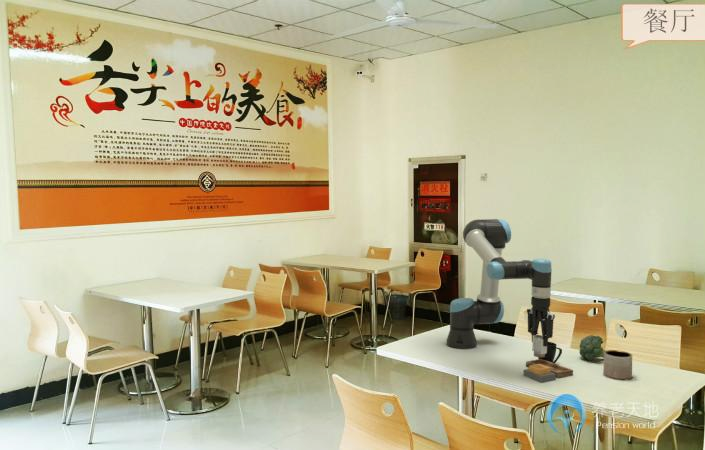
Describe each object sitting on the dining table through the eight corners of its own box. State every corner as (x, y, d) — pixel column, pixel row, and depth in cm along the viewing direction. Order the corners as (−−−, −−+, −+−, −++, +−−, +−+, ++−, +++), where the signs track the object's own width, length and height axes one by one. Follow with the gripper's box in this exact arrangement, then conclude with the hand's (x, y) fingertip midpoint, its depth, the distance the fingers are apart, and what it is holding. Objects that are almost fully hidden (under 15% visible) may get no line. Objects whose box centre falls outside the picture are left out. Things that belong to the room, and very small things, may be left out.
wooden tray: (525, 366, 244) (526, 361, 244) (541, 363, 248) (541, 358, 248) (557, 378, 228) (557, 373, 228) (572, 375, 232) (573, 370, 232)
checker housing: (523, 375, 232) (523, 369, 232) (537, 372, 235) (537, 367, 235) (541, 382, 223) (541, 376, 223) (555, 379, 227) (555, 373, 226)
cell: (531, 355, 230) (531, 334, 230) (539, 353, 232) (539, 333, 231) (539, 358, 226) (539, 337, 226) (547, 356, 228) (547, 336, 228)
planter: (597, 373, 234) (598, 351, 234) (616, 370, 239) (616, 348, 238) (618, 381, 224) (619, 358, 224) (637, 378, 229) (638, 355, 228)
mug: (553, 369, 241) (554, 348, 240) (532, 362, 251) (533, 341, 251) (565, 368, 245) (567, 346, 244) (544, 360, 255) (546, 340, 255)
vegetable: (618, 361, 245) (588, 346, 245) (601, 374, 254) (571, 359, 254) (618, 340, 254) (588, 325, 254) (601, 353, 263) (572, 339, 263)
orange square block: (528, 373, 231) (528, 365, 230) (539, 371, 233) (539, 363, 233) (539, 377, 225) (539, 369, 225) (550, 375, 228) (550, 367, 228)
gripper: (519, 293, 233) (518, 347, 235) (549, 301, 218) (548, 359, 220) (532, 292, 237) (531, 345, 238) (563, 299, 221) (561, 356, 223)
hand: (539, 351), depth 229 cm, fingers closed on cell, 4 cm apart
